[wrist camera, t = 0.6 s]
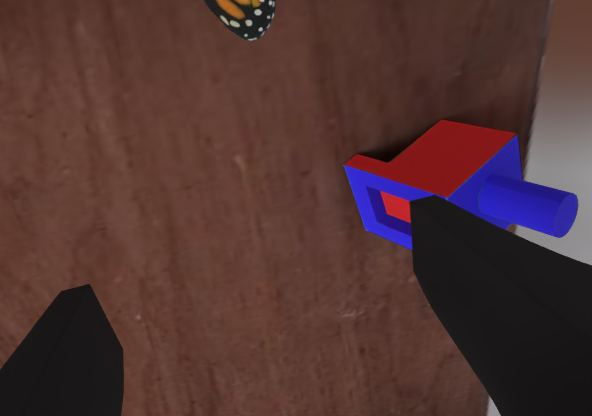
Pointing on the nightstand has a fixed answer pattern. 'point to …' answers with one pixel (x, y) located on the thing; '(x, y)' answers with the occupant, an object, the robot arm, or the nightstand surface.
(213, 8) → the butterfly
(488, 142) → the toy building block
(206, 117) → the nightstand surface
